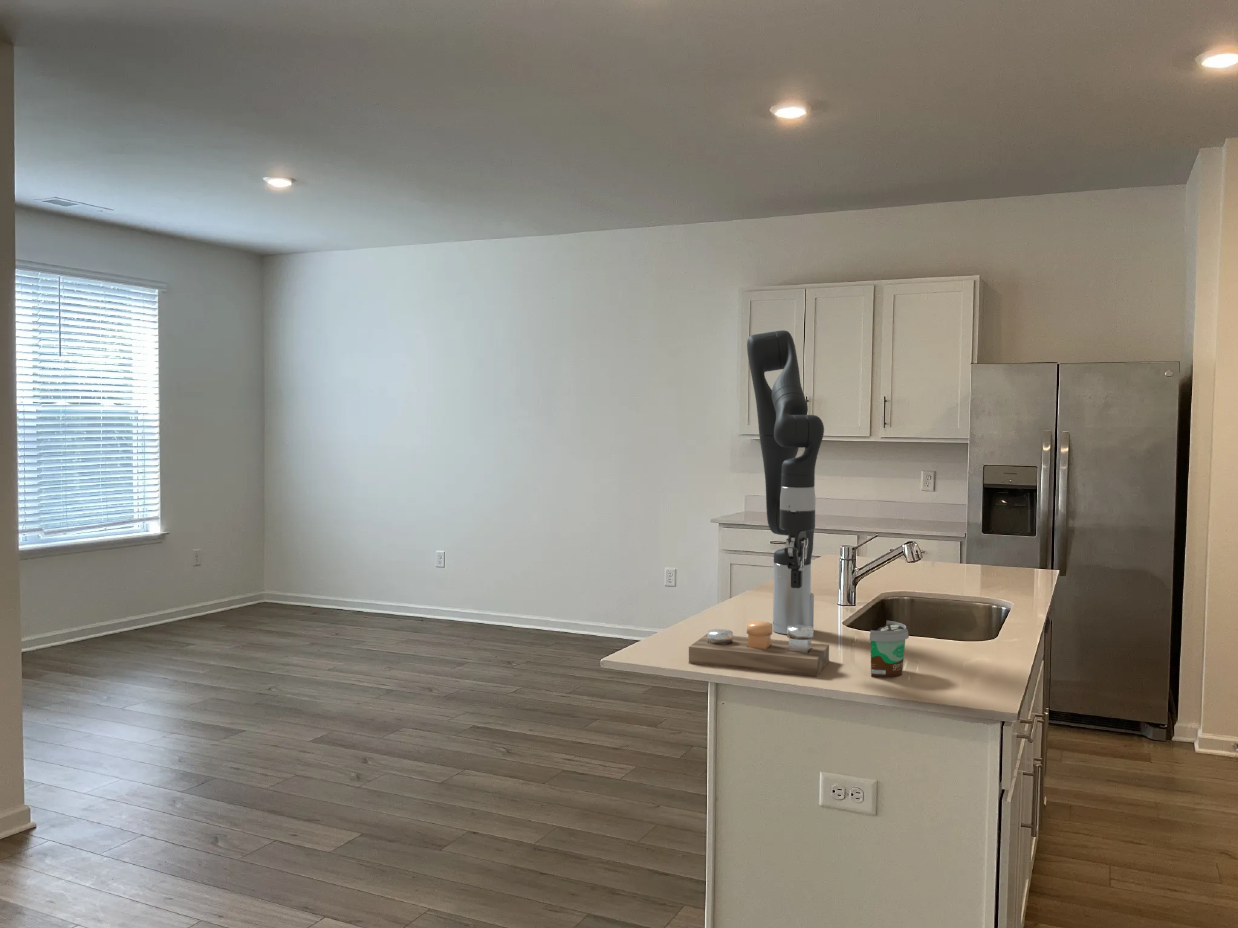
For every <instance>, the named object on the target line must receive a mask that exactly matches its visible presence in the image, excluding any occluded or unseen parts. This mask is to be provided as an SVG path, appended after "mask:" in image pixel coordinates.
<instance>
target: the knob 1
mask: <svg viewBox="0 0 1238 928" xmlns="http://www.w3.org/2000/svg"><path fill="white" fill-rule="evenodd" d="M706 634H707V641H708V642H709V643H710V644H721V645H728V644H729V643H731V642H733V636H734V635H733V634H734V632H733V631H732V630H730V629H721V628H715V629H709V630H707V633H706Z"/></svg>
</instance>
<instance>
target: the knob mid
mask: <svg viewBox="0 0 1238 928" xmlns="http://www.w3.org/2000/svg"><path fill="white" fill-rule="evenodd" d="M746 634H747V635H748V636H747V637H748V647H751V648H762V649H767V648H768V647H769V646H770V642H771V637H772V635H773V622H772V623H771V622H768V621H760V620H759V621H757V620H755V621H749V622H747V623H746Z"/></svg>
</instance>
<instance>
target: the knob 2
mask: <svg viewBox="0 0 1238 928" xmlns="http://www.w3.org/2000/svg"><path fill="white" fill-rule="evenodd" d="M786 637H787V638H788V641H789V651H792V652H803V653H808V652H809V651H810V650H811V643H812V640H813V639H814V628H813V627H811V626H806V625H790V626H788V627H787V634H786Z"/></svg>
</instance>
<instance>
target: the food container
mask: <svg viewBox="0 0 1238 928" xmlns="http://www.w3.org/2000/svg"><path fill="white" fill-rule="evenodd" d="M909 638H910V636H909V631H908V628H907V626H906V625H905V624H903V623H901V622H898V621H894V620H893V621H892V620H886V624H885V625H884V626H880V627H879V628H877V630H872V629H870V633H869V641H870V677H871V678H876V679H877V678H879V679H892V678H898V677H900V676H902V675H903V669H904V660H905V659H904V658H905V649H906V648H905V647H906V640H907V639H909Z"/></svg>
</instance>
